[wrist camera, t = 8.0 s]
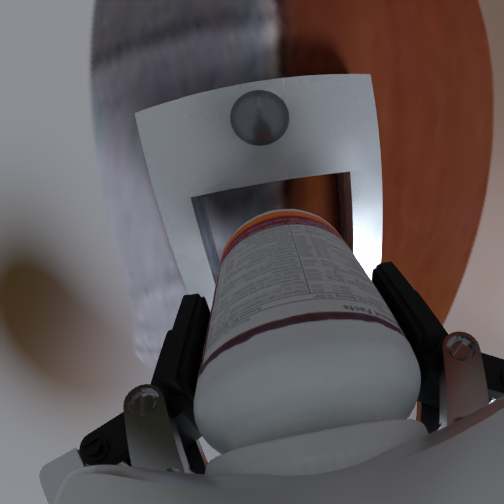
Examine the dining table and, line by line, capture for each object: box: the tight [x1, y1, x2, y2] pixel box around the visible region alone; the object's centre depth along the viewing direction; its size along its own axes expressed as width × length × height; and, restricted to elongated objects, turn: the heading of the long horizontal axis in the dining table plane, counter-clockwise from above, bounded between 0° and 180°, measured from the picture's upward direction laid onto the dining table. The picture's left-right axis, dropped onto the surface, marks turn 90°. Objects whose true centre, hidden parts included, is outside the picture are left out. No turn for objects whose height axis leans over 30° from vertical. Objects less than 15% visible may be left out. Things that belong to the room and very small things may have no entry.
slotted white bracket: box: [135, 74, 383, 313], centre depth 14 cm, size 17×11×3 cm, turn 10°
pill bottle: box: [194, 209, 429, 476], centre depth 8 cm, size 6×6×11 cm
